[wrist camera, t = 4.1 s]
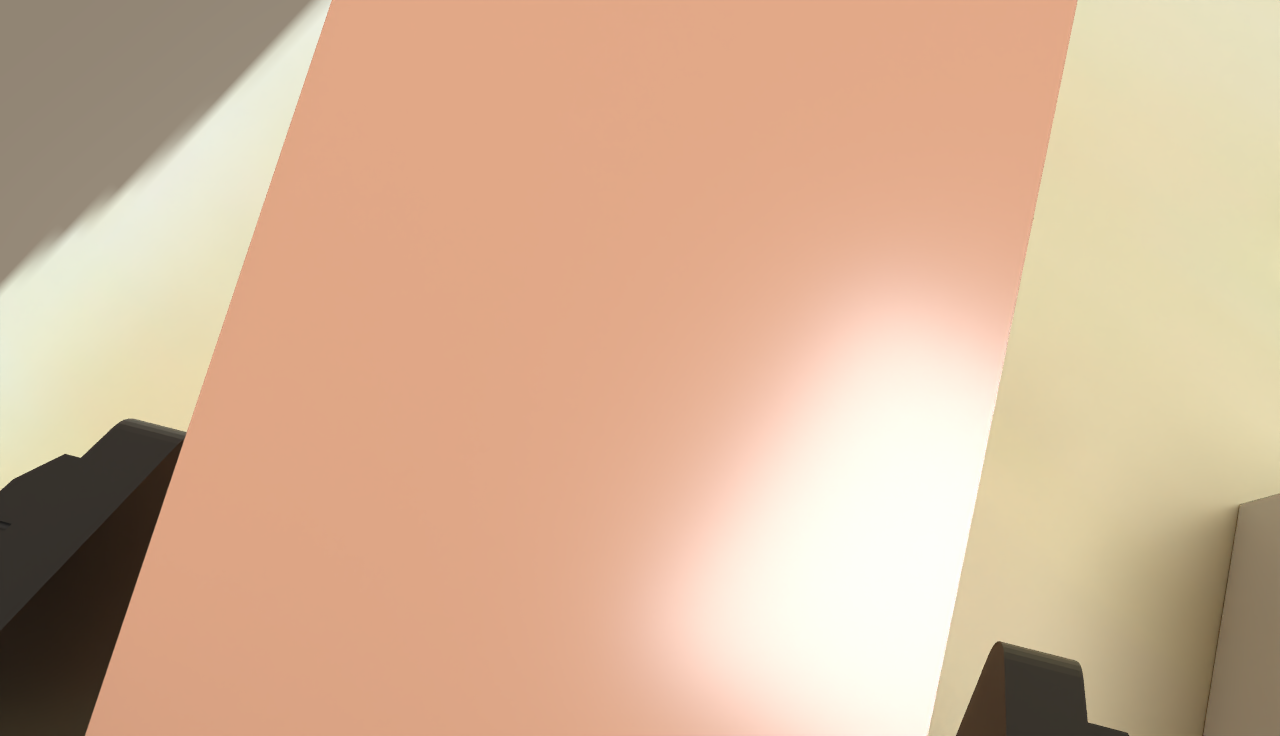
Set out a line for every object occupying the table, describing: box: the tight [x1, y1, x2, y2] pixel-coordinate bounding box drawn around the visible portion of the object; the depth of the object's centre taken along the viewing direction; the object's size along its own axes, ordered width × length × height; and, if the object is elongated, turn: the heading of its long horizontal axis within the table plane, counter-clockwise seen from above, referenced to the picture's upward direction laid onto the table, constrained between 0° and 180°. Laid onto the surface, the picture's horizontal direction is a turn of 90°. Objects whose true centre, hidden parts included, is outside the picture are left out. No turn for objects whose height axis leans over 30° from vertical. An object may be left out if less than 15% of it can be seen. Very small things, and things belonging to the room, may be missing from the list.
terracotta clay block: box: [85, 0, 1077, 736], centre depth 15 cm, size 8×6×10 cm
